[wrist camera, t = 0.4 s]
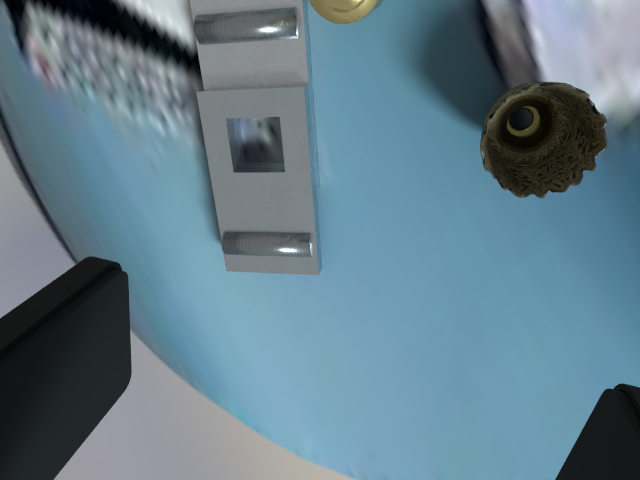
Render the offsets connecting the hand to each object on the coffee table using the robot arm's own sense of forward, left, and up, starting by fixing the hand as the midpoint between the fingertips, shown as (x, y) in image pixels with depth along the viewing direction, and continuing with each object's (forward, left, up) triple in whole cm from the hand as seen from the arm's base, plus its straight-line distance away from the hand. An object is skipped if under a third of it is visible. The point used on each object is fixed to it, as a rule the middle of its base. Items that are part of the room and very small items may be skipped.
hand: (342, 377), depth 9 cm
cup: (+2, +9, -33) cm, 35 cm away
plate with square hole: (+3, -12, -33) cm, 35 cm away
